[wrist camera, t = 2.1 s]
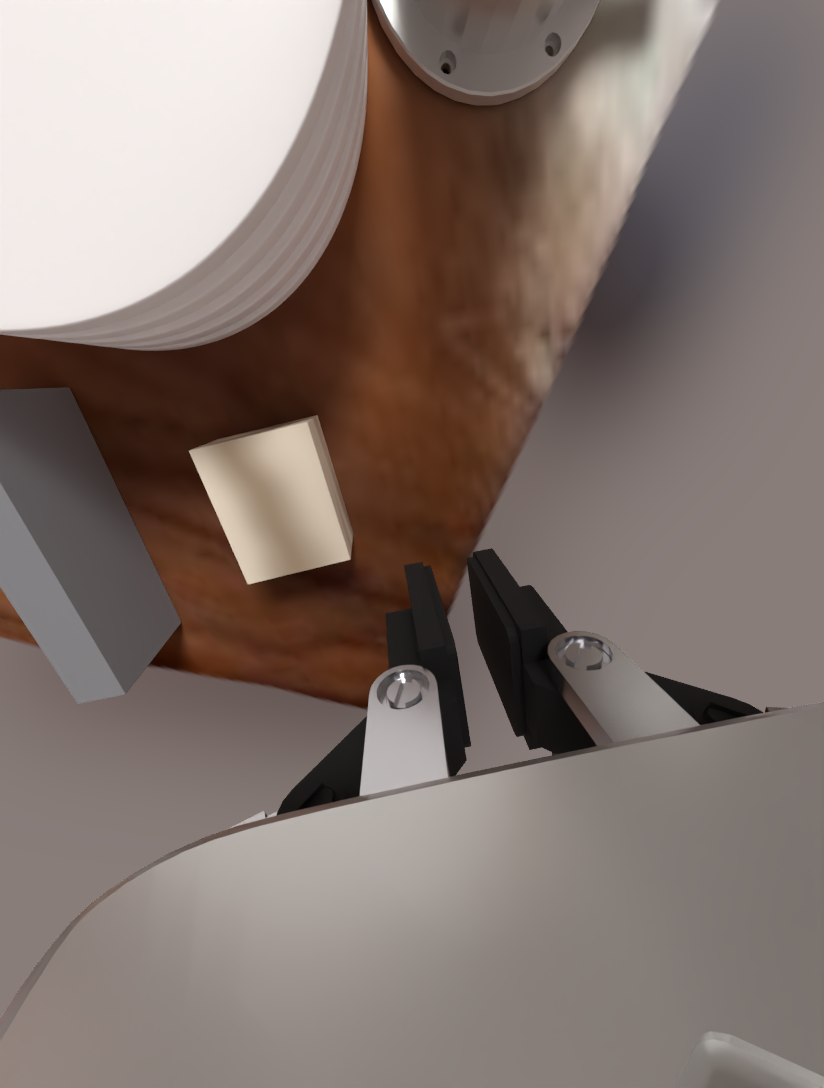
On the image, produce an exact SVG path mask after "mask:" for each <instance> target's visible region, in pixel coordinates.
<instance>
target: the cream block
mask: <svg viewBox="0 0 824 1088" xmlns="http://www.w3.org/2000/svg"><path fill="white" fill-rule="evenodd" d="M189 453H190V455H191V457H192V459H193V462H194V464H195V466H196V468H197V471H198V473H199V475H200V477H201V480H202V482H203V484H204V486H205V489H206V491H207V493H208V496H209V498H210V500H211V502H212V505H213V507H214V509H215V511H216V514H217V516H218V518H219V520H220V523H221V525H222V527H223V529H224V532H225V534H226V536H227V538H228V541H229V543H230V545H231V547H232V550H233V552H234V554H235V557H236V559H237V561H238V563H239V566H240V568H241V570H242V572H243V575H244V577H245V579H246V581H247V584H252V583H256V582H260V581H264V580H269V579H273V578H277V577H281V576H285V575H289V574H293V573H297V572H302V571H306V570H310V569H314V568H318V567H322V566H326V565H330V564H334V563H339V562H343V561H347V560H351V551H352V542H353V531H352V527H351V524H350V521H349V518H348V514H347V511H346V508H345V504H344V501H343V498H342V494H341V491H340V488H339V485H338V481H337V478H336V475H335V471H334V468H333V465H332V461H331V458H330V455H329V452H328V448H327V445H326V442H325V438H324V435H323V432H322V429H321V425H320V422H319V419H318V415H316V416H311V417H307V418H303V419H299V420H295V421H291V422H287V423H283V424H278V425H274V426H270V427H266V428H262V429H258V430H254V431H249V432H245V433H241V434H237V435H233V436H229V437H225V438H221V439H217V440H215V441H212V442H210V443H207V444H204V445H202V446H199V447H197V448H194V449H192V450H189Z"/></svg>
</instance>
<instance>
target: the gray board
mask: <svg viewBox="0 0 824 1088" xmlns="http://www.w3.org/2000/svg"><path fill="white" fill-rule="evenodd" d="M0 587H1V589H2V590H3V592H4V593H5V595H6V596H7V598H8V599H9V601H10V602H11V604H12V605H13V607H14V608H15V610H16V611H17V613H18V614H19V616H20V617H21V619H22V621H23V622H24V624H25V625H26V627H27V628H28V630H29V631H30V633H31V634H32V636H33V637H34V639H35V640H36V642H37V643H38V645H39V646H40V648H41V649H42V651H43V652H44V653H45V655H46V657H47V658H48V660H49V661H50V663H51V664H52V665H53V667H54V669H55V670H56V672H57V673H58V675H59V676H60V678H61V679H62V681H63V682H64V684H65V685H66V687H67V688H68V690H69V691H70V693H71V694H72V696H73V697H74V699H75V700H76V702H77V703H78V704H79V703H84V702H89V701H94V700H99V699H104V698H109V697H114V696H119V695H124V694H126V693H127V692H128V691H129V689H130V688H131V687H132V685H133V684H134V683H135V681H136V680H137V679H138V678H139V676H140V675H141V674H142V673H143V671H144V670H145V669H146V667H147V666H148V665H149V664H150V662H151V661H152V660H153V658H154V657H155V656H156V654H157V653H158V652H159V651H160V649H161V648H162V647H163V645H164V644H165V643H166V642H167V640H168V639H169V638H170V636H171V635H172V634H173V633H174V631H175V630H176V629H177V627H178V626H179V625H180V624H181V620H180V618H179V616H178V614H177V612H176V610H175V608H174V606H173V604H172V602H171V599H170V597H169V595H168V593H167V591H166V589H165V587H164V585H163V583H162V581H161V578H160V576H159V574H158V572H157V570H156V568H155V566H154V564H153V562H152V560H151V557H150V555H149V553H148V551H147V549H146V547H145V545H144V543H143V541H142V539H141V536H140V534H139V532H138V530H137V528H136V526H135V524H134V522H133V520H132V518H131V515H130V513H129V511H128V509H127V507H126V505H125V503H124V501H123V499H122V497H121V494H120V492H119V490H118V488H117V486H116V484H115V482H114V480H113V478H112V476H111V473H110V471H109V469H108V467H107V465H106V463H105V461H104V459H103V457H102V455H101V452H100V450H99V448H98V446H97V444H96V442H95V440H94V438H93V436H92V434H91V432H90V429H89V427H88V425H87V423H86V421H85V419H84V417H83V415H82V413H81V411H80V408H79V406H78V404H77V402H76V400H75V398H74V396H73V394H72V392H71V390H70V387H66V388H34V389H2V390H0Z"/></svg>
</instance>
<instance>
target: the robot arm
mask: <svg viewBox="0 0 824 1088" xmlns="http://www.w3.org/2000/svg"><path fill="white" fill-rule="evenodd" d="M371 1H372V4H373V6H374V9H375V11H376V14H377V16H378V19H379V22H380V24H381V27H382V28H383V30H384V32H385V33H386V35H387V37H388V39H389V40H390V42H391V44H392V46H393V47H394V49H395V51H396V52H397V54H398V55H399V56H400V57H401V59H402V60H403V61H404V62H405V63H406V65H407V66H408V67H409V68H410V70H411V71H412V72H413V73H414V74H415V75H416V76H417V77H418V78H420V79H421V80H422V81H423V82H424V83H426V84H427V85H428V86H429V87H431V88H432V89H433V90H434V91H436V92H438V93H440V94H442V95H444V96H446V97H448V98H450V99H452V100H454V101H458V102H462V103H467V104H471V105H476V106H479V105H499V104H502V103H505V102H509V101H512V100H515V99H518V98H520V97H522V96H524V95H526V94H527V93H529V92H531V91H532V90H534V89H536V88H538V87H539V86H540V85H541V84H543V83H544V82H545V81H546V80H547V79H548V78H549V77H550V76H551V75H552V74H554V73H555V72H556V71H557V70H558V69H559V68H560V66H561V65H562V64H563V62H564V61H565V60H566V58H567V57H568V56H569V55H570V53H571V52H572V51H573V49H574V48H575V47H576V45H577V43H578V42H579V40H580V38H581V36H582V35H583V33H584V31H585V30H586V28H587V27H588V25H589V23H590V22H591V20H592V17H593V15H594V13H595V11H596V9H597V6H598V4H599V2H600V0H371ZM546 52H548V54H549V55H550V56H549V55H548V54H547V53H546ZM443 69H446V70H447V71H448V72H449V74H445V73H444V72H443V71H442V70H443ZM467 565H468V573H469V581H470V589H471V597H472V604H473V612H474V620H475V628H476V635H477V640H478V644H479V646H480V649H481V651H482V654H483V656H484V659H485V661H486V664H487V666H488V669H489V671H490V674H491V676H492V678H493V681H494V684H495V686H496V689H497V691H498V693H499V696H500V698H501V701H502V703H503V706H504V708H505V711H506V713H507V715H508V718H509V720H510V723H511V726H512V728H513V731H514V732H515V735H516V736H517V737H519V736H523V735H524V738H525V740H526V742H527V745H528V747H529V750H531V749H536V748H541V747H542V748H544V749H547V750H549V751H551V752H552V756H548V757H542V758H538V759H533V760H528V761H523V762H518V763H514V764H509V765H504V766H499V767H495V768H490V769H485V770H481V771H475V772H471V773H466V774H462V775H457V776H456V774H457V772H458V771H459V770H460V768H461V767H462V766H463V764H464V763H465V761H466V755H465V747H469V746H471V742H470V736H469V729H468V723H467V716H466V710H465V704H464V697H463V690H462V684H461V677H460V671H459V664H458V658H457V652H456V647H455V643H454V639H453V635H452V632H451V629H450V626H449V623H448V619H447V616H446V613H445V610H444V607H443V604H442V600H441V597H440V594H439V591H438V588H437V585H436V581H435V578H434V575H433V572H432V569H431V566H425V567H424V566H423V563H422V562H420V563H415V564H410V565H405V566H404V567H405V573H406V578H407V584H408V590H409V595H410V601H411V607H412V608H411V609H406V610H401V611H395V612H390V613H386V626H387V642H388V658H389V670H387V671H385V672H384V673H383V674H381V675H380V676H379V677H378V678H377V679H376V680H375V682H374V683H373V684H372V686H371V690H370V693H369V703H368V713H367V716H366V718H365V719H363V720H362V721H361V722H360V724H358V725H357V726H356V727H355V728H354V729H353V730H352V731H351V732H350V733H349V734H348V735H347V736H346V737H345V738H344V739H343V740H342V741H341V742H340V743H339V744H338V745H337V746H336V747H335V748H334V749H333V750H332V751H331V752H330V753H329V754H328V755H327V756H326V757H325V758H324V759H323V760H322V761H321V762H320V763H319V764H318V765H317V766H316V767H315V768H314V769H313V770H312V771H311V772H310V773H309V774H308V775H307V776H306V777H305V778H304V779H303V780H301V781H300V782H299V783H298V784H297V785H296V786H295V788H293V789H292V791H291V792H290V793H289V794H288V795H287V797H286V798H285V799H284V800H283V802H282V804H281V806H280V808H279V810H278V811H277V812H275V813H273V814H271V815H269V816H267V815H266V813H265V811H263V812H261V813H259V814H257V815H255V816H253V817H251V818H249V819H247V820H245V821H243V822H241V823H239V824H237V825H235V826H233V827H231V828H229V829H227V830H224V831H221V832H218V833H216V834H213V835H210V836H207V837H204V838H202V839H199V840H197V841H195V842H193V843H191V844H188V845H186V846H184V847H182V848H180V849H177V850H175V851H173V852H171V853H169V854H167V855H165V856H163V857H161V858H160V859H158V860H156V861H154V862H153V863H151V864H149V865H147V866H146V867H144V868H142V869H140V870H139V871H137V872H135V873H133V874H132V875H130V876H128V877H127V878H126V879H124V880H123V881H121V882H120V883H118V884H117V885H115V886H114V887H112V888H111V889H110V890H108V891H107V892H106V893H104V894H103V895H102V896H100V897H99V898H98V899H96V900H95V901H94V902H92V903H91V904H90V905H89V906H88V907H87V908H86V909H85V910H84V911H82V912H81V913H80V915H78V916H77V917H76V918H75V919H74V920H73V921H72V922H71V923H70V924H69V925H68V926H67V927H66V929H65V930H64V931H63V932H62V933H61V934H60V936H59V937H58V938H57V939H56V940H55V941H54V942H53V944H52V945H51V946H50V948H49V949H48V950H47V952H46V953H45V954H44V955H43V957H42V958H41V959H40V960H39V962H38V963H37V964H36V966H35V967H34V969H33V970H32V971H31V973H30V974H29V976H28V977H27V978H26V980H25V981H24V983H23V984H22V985H21V987H20V988H19V990H18V991H17V993H16V994H15V996H14V997H13V999H12V1000H11V1002H10V1003H9V1005H8V1006H7V1008H6V1010H5V1011H4V1012H3V1014H2V1015H1V1017H0V1088H824V702H821V703H815V704H809V705H803V706H797V707H792V708H781V707H766V710H765V713H763V712H761V711H760V710H758V709H756V708H755V707H753V706H751V705H749V704H747V703H745V702H742V701H739V700H737V699H734V698H731V697H728V696H724V695H721V694H717V693H714V692H711V691H708V690H704V689H701V688H697V687H694V686H691V685H687V684H684V683H681V682H677V681H674V680H671V679H667V678H664V677H661V676H657V675H654V674H650V673H647V672H644V671H643V670H642V669H641V668H639V666H637V665H636V664H635V663H634V662H633V661H632V660H631V659H630V658H629V657H628V656H627V655H626V654H625V653H624V652H623V651H621V649H620V648H618V647H617V645H615V644H614V643H613V642H612V641H610V640H609V639H607V638H605V637H603V636H601V635H598V634H595V633H591V632H585V631H573V632H567V631H566V629H565V628H564V627H563V625H562V624H561V623H560V621H559V620H558V619H557V618H556V616H555V615H554V614H553V612H552V611H551V610H550V609H549V607H548V606H547V605H546V604H545V602H544V601H543V600H542V598H541V597H540V596H539V594H538V593H537V592H536V590H535V589H534V588H533V587H532V586H531V585H527V586H522V587H519V585H518V584H517V582H516V581H515V580H514V578H513V577H512V576H511V574H510V573H509V571H508V570H507V568H506V567H505V566H504V564H503V563H502V561H501V560H500V559H499V557H498V556H497V555H496V553H495V552H494V550H493V549H488V550H482V551H476V552H473V557H471V558H467Z"/></svg>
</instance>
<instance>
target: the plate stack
mask: <svg viewBox="0 0 824 1088" xmlns="http://www.w3.org/2000/svg"><path fill="white" fill-rule="evenodd" d="M367 84H368V52H367V0H0V334H2V335H9V336H18V337H26V338H35V339H45V340H52V341H60V342H69V343H78V344H86V345H95V346H103V347H112V348H120V349H129V350H141V351H166V350H178V349H185V348H191V347H196V346H201V345H205V344H208V343H212V342H215V341H218V340H221V339H224V338H226V337H229V336H231V335H233V334H236V333H238V332H240V331H242V330H244V329H246V328H248V327H250V326H251V325H253V324H255V323H256V322H258V321H259V320H261V319H262V318H264V317H265V316H267V315H268V314H269V313H271V312H272V311H273V310H275V309H276V308H277V307H278V306H279V305H280V304H282V303H283V302H284V301H285V300H286V299H287V298H288V297H289V296H290V295H291V294H292V293H293V292H294V291H295V290H296V289H297V288H298V287H299V286H300V285H301V283H302V282H303V281H304V280H305V278H306V277H307V276H308V275H309V273H310V272H311V271H312V269H313V268H314V267H315V265H316V264H317V262H318V261H319V259H320V257H321V256H322V254H323V253H324V251H325V249H326V247H327V246H328V244H329V242H330V240H331V238H332V236H333V234H334V232H335V230H336V228H337V226H338V224H339V221H340V219H341V217H342V214H343V212H344V209H345V206H346V204H347V201H348V198H349V195H350V192H351V188H352V185H353V182H354V178H355V174H356V170H357V166H358V161H359V156H360V152H361V146H362V140H363V133H364V125H365V116H366V105H367Z"/></svg>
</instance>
